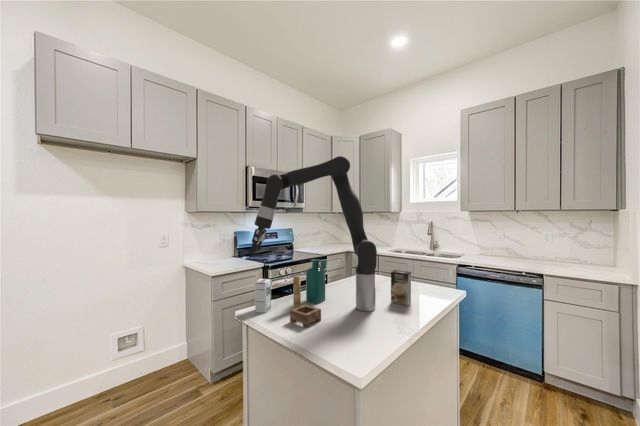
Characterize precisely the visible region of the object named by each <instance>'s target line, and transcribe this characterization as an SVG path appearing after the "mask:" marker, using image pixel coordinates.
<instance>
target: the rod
mask: <svg viewBox="0 0 640 426" xmlns="http://www.w3.org/2000/svg"><path fill="white" fill-rule="evenodd" d="M292 277H293V278H292V279H293V280H292V281H293V282H292V283H293V286H292V288H293V295H292V296H293V298H292V299H293V302H292V303H293V309H295V308H297V307H300V306H302V305H301V303H302V302H301V301H302V300H301V275H293V276H292Z"/></svg>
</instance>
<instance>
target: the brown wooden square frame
mask: <svg viewBox="0 0 640 426" xmlns="http://www.w3.org/2000/svg"><path fill="white" fill-rule="evenodd" d="M321 321H322V309H321V308H318V307H315V306H311V305H308V304H302V305H301V306H300V307H297V308H295V309H294V308H293V309H289V322H290V323H291V324H295V323H296V322H299V323H302V327H303V328H305V329H307V328H309V327H310V323H312V322H317V323H319V322H321Z"/></svg>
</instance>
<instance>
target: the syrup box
mask: <svg viewBox="0 0 640 426" xmlns="http://www.w3.org/2000/svg"><path fill="white" fill-rule="evenodd" d="M271 289H272V288H271V278H259V279H258V280H256V281H254V304H255V305H254V308H255V313H256V312H257V313H268V312H269V310H271V308H272V299H271V298H272V295H271V294H272V293H271V291H272V290H271Z"/></svg>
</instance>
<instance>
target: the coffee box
mask: <svg viewBox="0 0 640 426" xmlns="http://www.w3.org/2000/svg"><path fill="white" fill-rule="evenodd" d="M411 290H412V272H411V271H407V270H401V269H393V270H392V271H391V272H390V303H393V304H396V305H397V304H399V305H403V306H409V305H410V304H411V303H412V299H411V298H412V291H411Z"/></svg>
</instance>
